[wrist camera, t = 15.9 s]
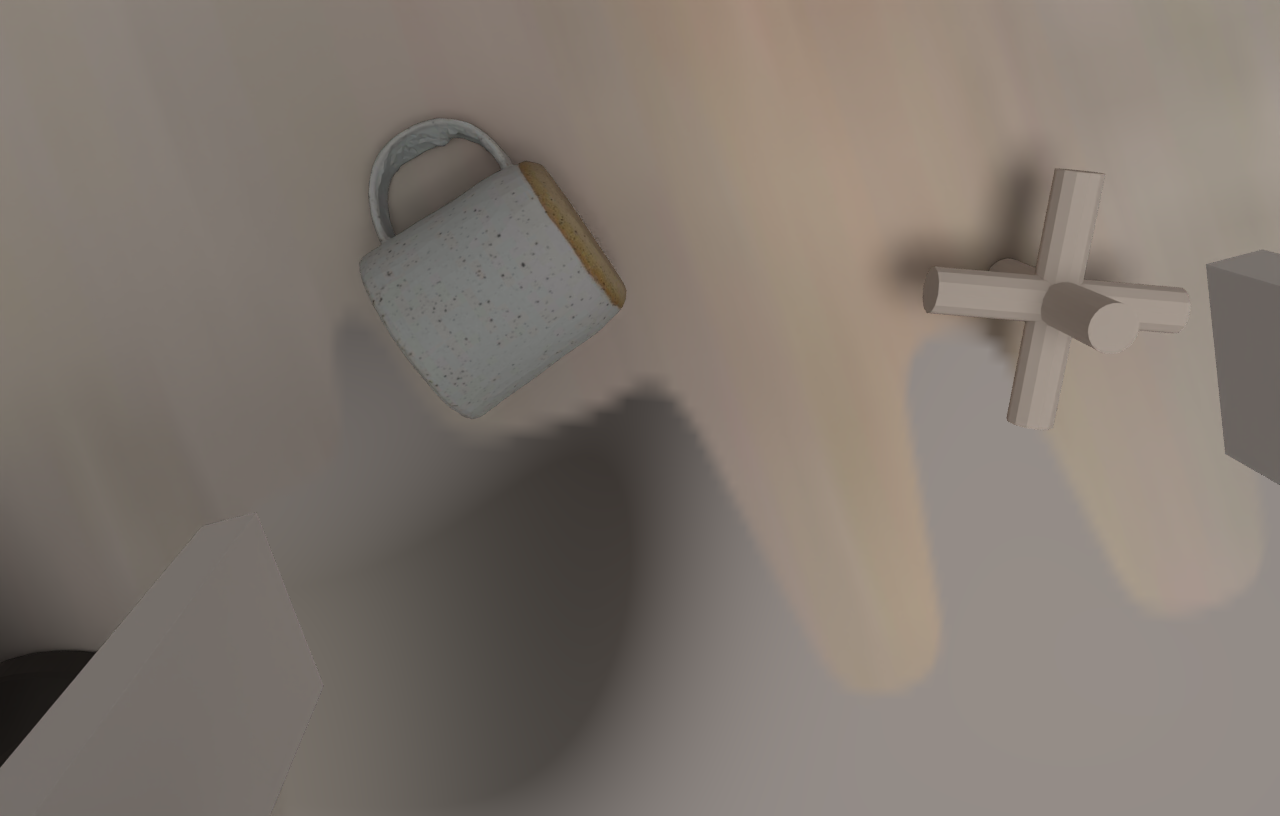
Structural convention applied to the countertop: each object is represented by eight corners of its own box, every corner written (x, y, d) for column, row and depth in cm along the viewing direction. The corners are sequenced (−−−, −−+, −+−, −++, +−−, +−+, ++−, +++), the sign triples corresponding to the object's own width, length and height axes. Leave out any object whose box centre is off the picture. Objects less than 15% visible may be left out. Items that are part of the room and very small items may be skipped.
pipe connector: (912, 151, 46) (1001, 169, 37) (1141, 172, 47) (1286, 196, 37) (876, 381, 49) (949, 454, 39) (1092, 398, 50) (1216, 473, 40)
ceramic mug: (636, 285, 47) (645, 320, 40) (482, 394, 48) (463, 447, 41) (485, 73, 45) (465, 68, 37) (326, 192, 46) (275, 210, 38)
